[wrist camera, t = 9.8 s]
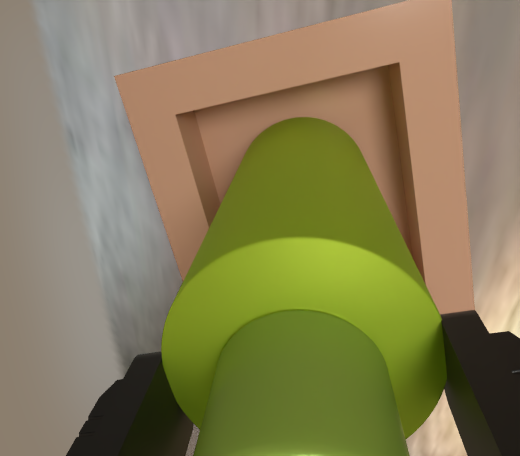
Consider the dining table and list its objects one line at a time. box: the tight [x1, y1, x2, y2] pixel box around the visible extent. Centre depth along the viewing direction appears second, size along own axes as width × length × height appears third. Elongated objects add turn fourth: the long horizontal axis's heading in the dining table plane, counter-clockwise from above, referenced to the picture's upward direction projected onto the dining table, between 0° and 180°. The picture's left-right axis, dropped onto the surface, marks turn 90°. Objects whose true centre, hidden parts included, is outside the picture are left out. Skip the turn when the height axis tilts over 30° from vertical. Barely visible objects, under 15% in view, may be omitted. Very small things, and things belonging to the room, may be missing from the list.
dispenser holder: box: [114, 0, 475, 314], centre depth 21 cm, size 14×13×4 cm
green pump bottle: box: [161, 117, 447, 456], centre depth 12 cm, size 6×7×20 cm
